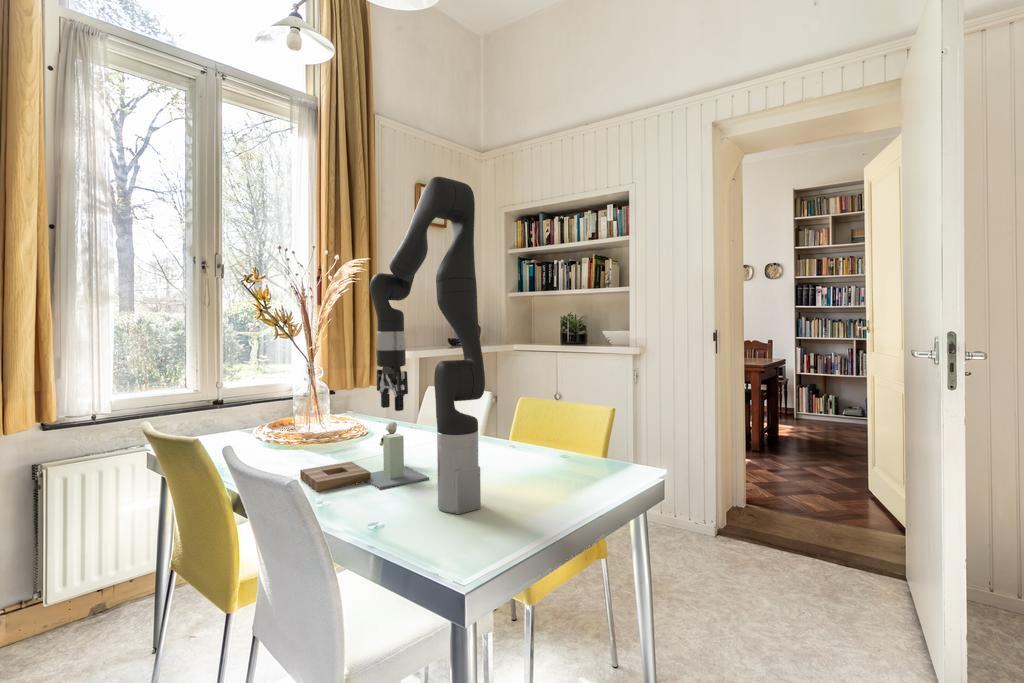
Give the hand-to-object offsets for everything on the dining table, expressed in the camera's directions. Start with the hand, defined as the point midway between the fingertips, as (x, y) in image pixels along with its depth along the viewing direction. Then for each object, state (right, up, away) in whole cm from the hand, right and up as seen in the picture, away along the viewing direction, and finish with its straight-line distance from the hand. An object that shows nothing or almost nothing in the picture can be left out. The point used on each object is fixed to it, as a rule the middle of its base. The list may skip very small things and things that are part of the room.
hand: (392, 409), depth 142 cm
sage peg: (0, -18, +1) cm, 18 cm away
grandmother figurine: (-4, -19, +15) cm, 24 cm away
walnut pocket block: (-15, -19, -1) cm, 24 cm away
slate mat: (0, -19, +1) cm, 19 cm away
